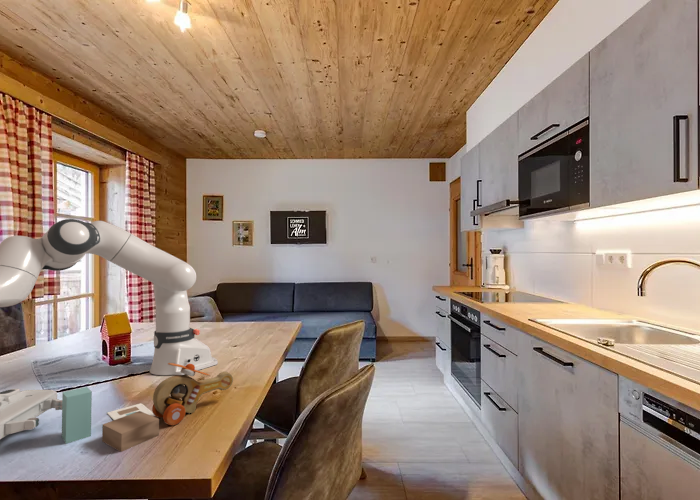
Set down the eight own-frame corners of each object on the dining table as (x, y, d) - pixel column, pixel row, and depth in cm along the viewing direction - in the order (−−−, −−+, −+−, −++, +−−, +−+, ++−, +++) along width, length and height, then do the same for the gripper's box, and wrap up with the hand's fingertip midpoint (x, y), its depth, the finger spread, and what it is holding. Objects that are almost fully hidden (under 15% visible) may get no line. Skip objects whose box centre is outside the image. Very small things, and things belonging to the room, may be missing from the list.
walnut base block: (139, 427, 85) (139, 411, 85) (158, 436, 81) (159, 418, 81) (102, 442, 78) (102, 424, 78) (121, 453, 74) (121, 433, 74)
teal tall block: (85, 429, 83) (86, 386, 83) (90, 436, 80) (91, 391, 80) (61, 436, 80) (62, 392, 80) (65, 443, 77) (66, 397, 77)
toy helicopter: (146, 420, 88) (147, 364, 88) (223, 395, 104) (224, 348, 104) (160, 430, 83) (161, 371, 83) (239, 402, 99) (239, 353, 99)
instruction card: (141, 403, 97) (141, 402, 97) (156, 416, 90) (156, 415, 90) (107, 413, 92) (107, 412, 92) (120, 427, 84) (120, 426, 84)
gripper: (-67, 425, 67) (15, 420, 69) (18, 385, 87) (79, 383, 89) (-68, 459, 67) (15, 453, 69) (17, 411, 87) (79, 408, 89)
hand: (52, 413), depth 79 cm, fingers open, 8 cm apart
